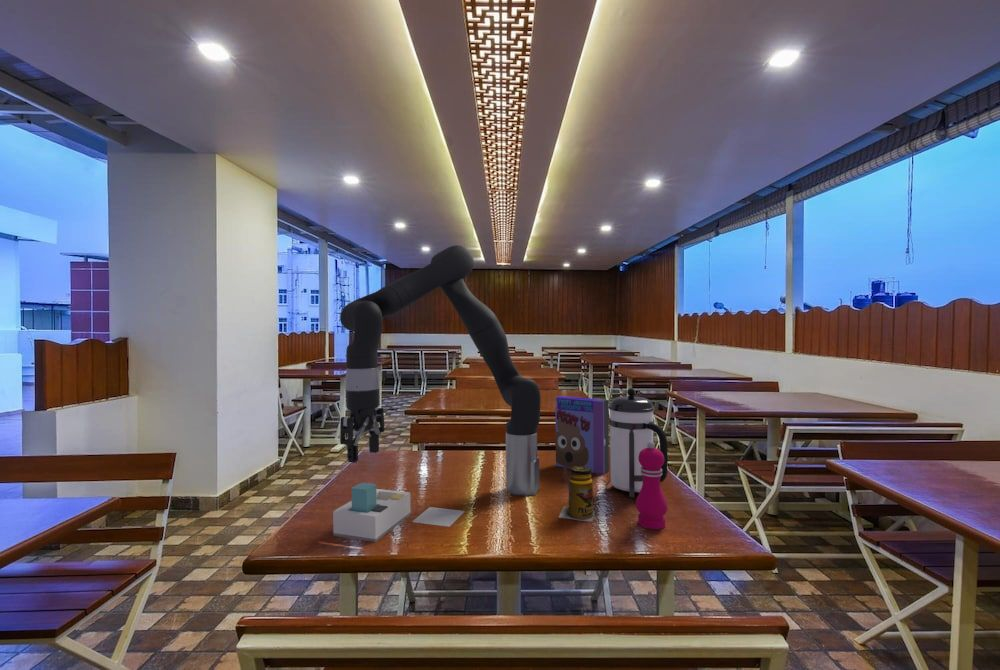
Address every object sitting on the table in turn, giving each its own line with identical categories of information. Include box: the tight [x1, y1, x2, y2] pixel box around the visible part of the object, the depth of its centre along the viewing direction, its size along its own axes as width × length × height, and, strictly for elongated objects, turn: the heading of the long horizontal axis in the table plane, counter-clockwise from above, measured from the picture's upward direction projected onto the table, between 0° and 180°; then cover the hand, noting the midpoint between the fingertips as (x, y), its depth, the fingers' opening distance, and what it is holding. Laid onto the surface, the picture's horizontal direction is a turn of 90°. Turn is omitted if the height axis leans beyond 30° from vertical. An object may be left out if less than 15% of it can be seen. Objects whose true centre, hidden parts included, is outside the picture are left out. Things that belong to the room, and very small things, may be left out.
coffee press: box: [605, 388, 669, 500], centre depth 134 cm, size 17×16×30 cm
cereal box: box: [554, 395, 610, 476], centre depth 157 cm, size 17×5×24 cm, turn 55°
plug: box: [351, 482, 377, 513], centre depth 108 cm, size 4×4×10 cm
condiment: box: [558, 466, 596, 523], centre depth 118 cm, size 7×8×12 cm
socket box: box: [332, 488, 411, 543], centre depth 112 cm, size 11×16×6 cm
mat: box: [411, 506, 465, 528], centre depth 117 cm, size 10×10×1 cm
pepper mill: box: [635, 441, 668, 530], centre depth 112 cm, size 7×7×20 cm
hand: (364, 456), depth 108 cm, fingers open, 8 cm apart
